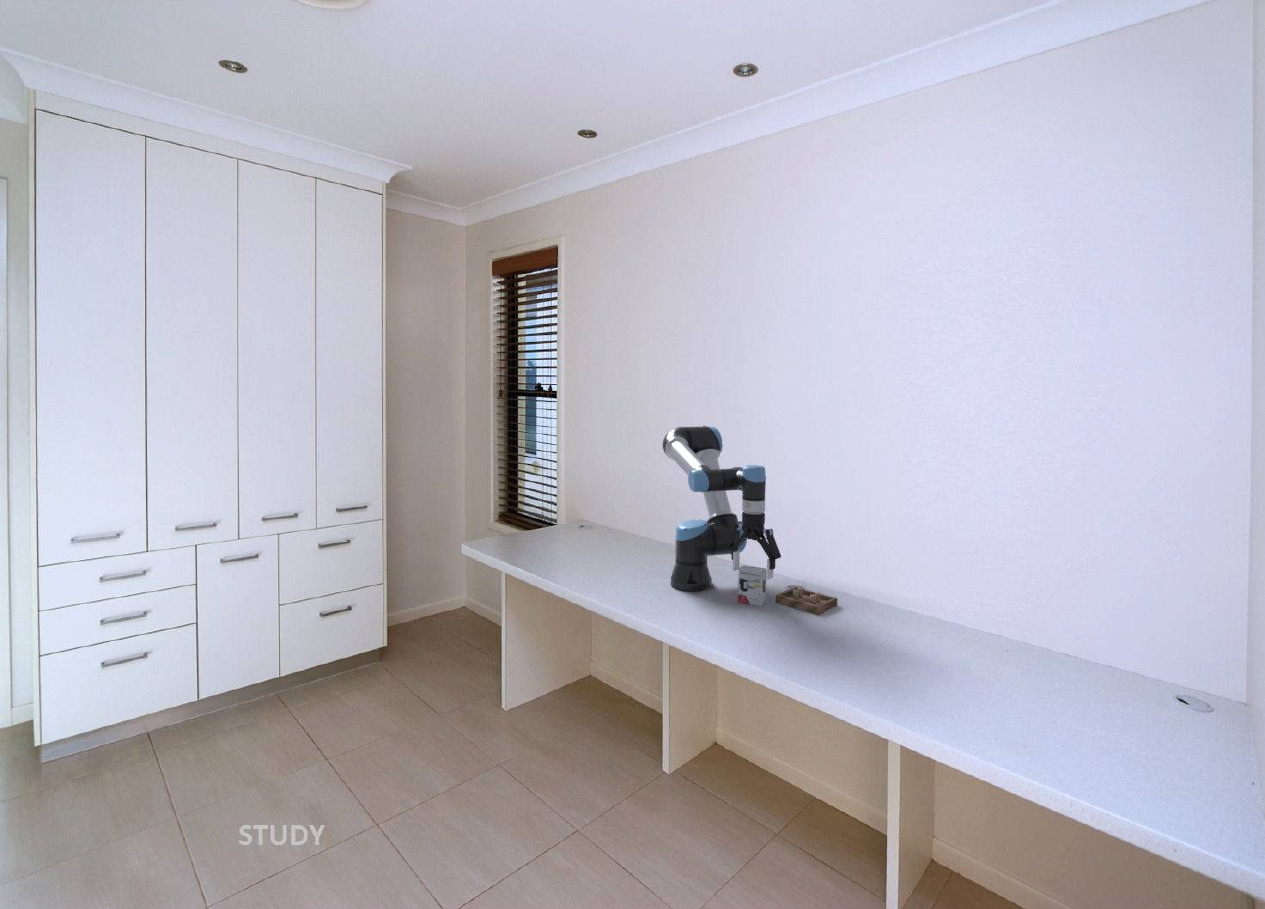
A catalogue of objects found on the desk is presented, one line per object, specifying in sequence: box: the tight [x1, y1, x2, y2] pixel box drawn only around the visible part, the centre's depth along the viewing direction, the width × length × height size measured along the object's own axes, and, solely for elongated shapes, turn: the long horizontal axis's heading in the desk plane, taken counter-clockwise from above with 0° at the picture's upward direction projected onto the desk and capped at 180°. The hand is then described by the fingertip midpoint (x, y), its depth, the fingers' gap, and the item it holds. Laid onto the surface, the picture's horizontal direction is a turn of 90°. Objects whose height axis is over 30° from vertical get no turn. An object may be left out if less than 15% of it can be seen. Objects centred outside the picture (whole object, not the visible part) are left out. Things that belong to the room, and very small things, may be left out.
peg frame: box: [775, 586, 838, 616], centre depth 207 cm, size 16×12×4 cm
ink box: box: [737, 564, 767, 607], centre depth 209 cm, size 9×5×12 cm, turn 62°
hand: (752, 574), depth 208 cm, fingers open, 13 cm apart
